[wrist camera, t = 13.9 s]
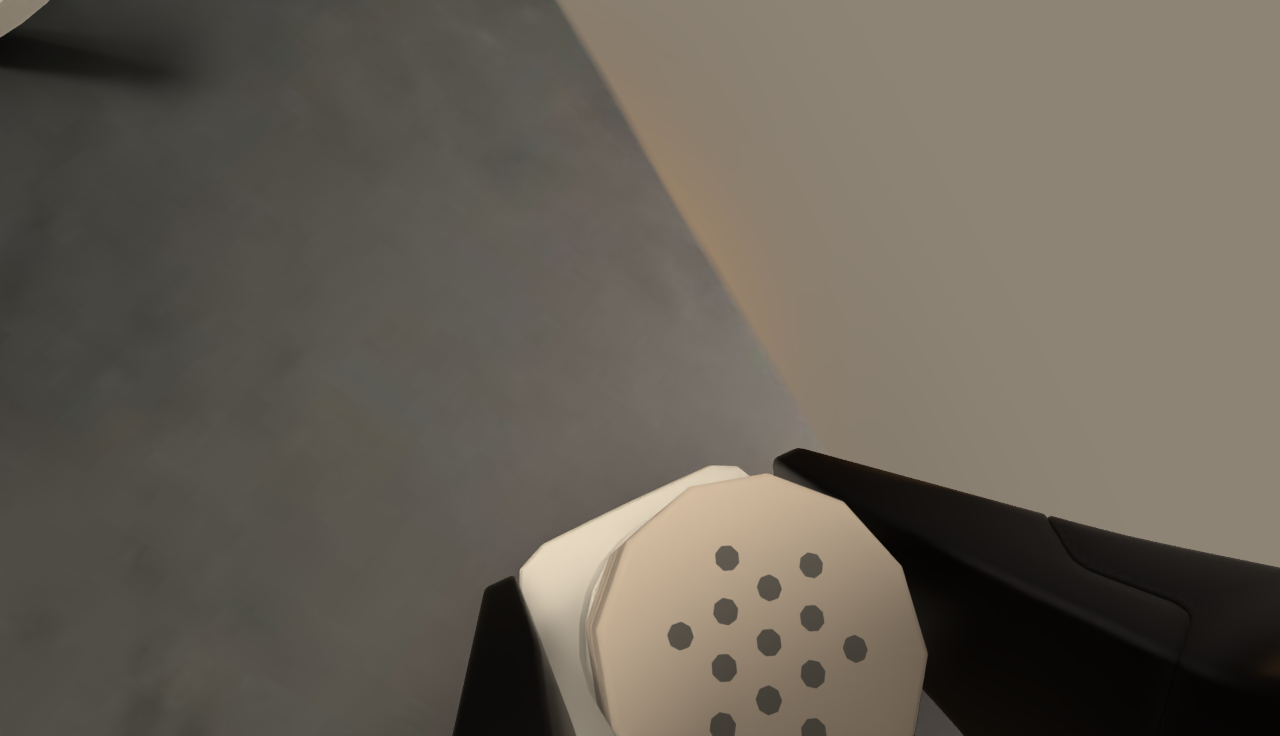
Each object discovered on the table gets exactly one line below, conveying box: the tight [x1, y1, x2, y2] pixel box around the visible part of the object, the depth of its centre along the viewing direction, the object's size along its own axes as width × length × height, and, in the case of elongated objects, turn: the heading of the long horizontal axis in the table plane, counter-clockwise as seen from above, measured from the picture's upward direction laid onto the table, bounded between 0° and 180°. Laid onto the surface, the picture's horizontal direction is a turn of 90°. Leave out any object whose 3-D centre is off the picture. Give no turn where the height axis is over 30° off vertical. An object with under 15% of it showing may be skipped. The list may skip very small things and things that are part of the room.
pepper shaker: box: [520, 465, 928, 736], centre depth 11 cm, size 4×4×10 cm
